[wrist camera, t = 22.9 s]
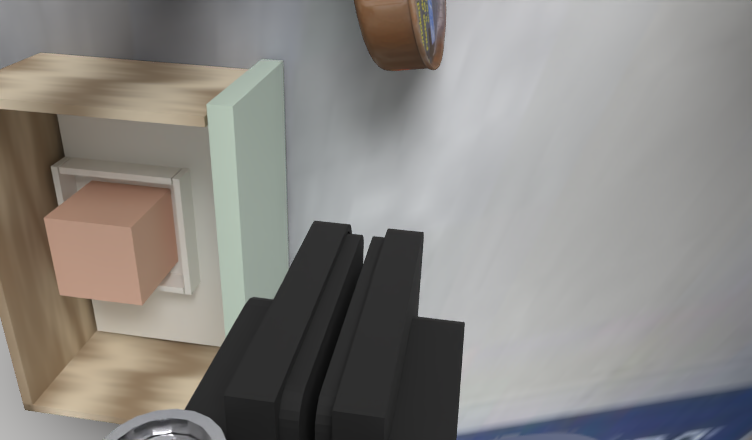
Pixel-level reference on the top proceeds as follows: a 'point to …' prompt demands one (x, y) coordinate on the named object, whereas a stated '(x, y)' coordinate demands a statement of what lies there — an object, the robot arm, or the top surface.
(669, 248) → the top surface
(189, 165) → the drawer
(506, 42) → the top surface
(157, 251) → the block
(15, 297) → the caddy
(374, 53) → the tin
